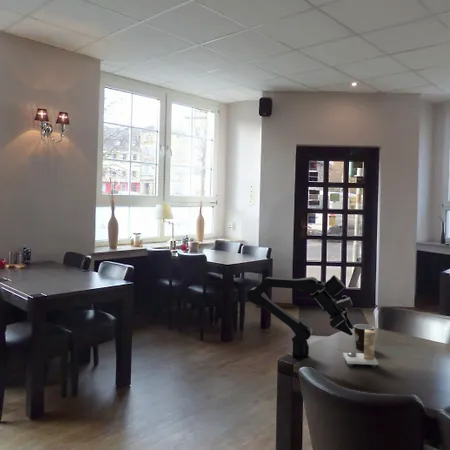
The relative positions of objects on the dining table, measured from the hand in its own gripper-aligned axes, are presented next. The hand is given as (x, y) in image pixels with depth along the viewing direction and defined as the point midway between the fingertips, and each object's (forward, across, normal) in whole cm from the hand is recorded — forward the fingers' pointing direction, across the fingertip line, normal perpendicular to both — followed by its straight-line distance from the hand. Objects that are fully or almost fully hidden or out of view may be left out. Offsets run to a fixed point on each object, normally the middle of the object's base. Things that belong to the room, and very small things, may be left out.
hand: (352, 331), depth 188 cm
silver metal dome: (+7, 0, +7) cm, 10 cm away
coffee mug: (+12, +20, +6) cm, 25 cm away
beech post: (+12, -1, +2) cm, 12 cm away
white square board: (+12, -1, +6) cm, 13 cm away
